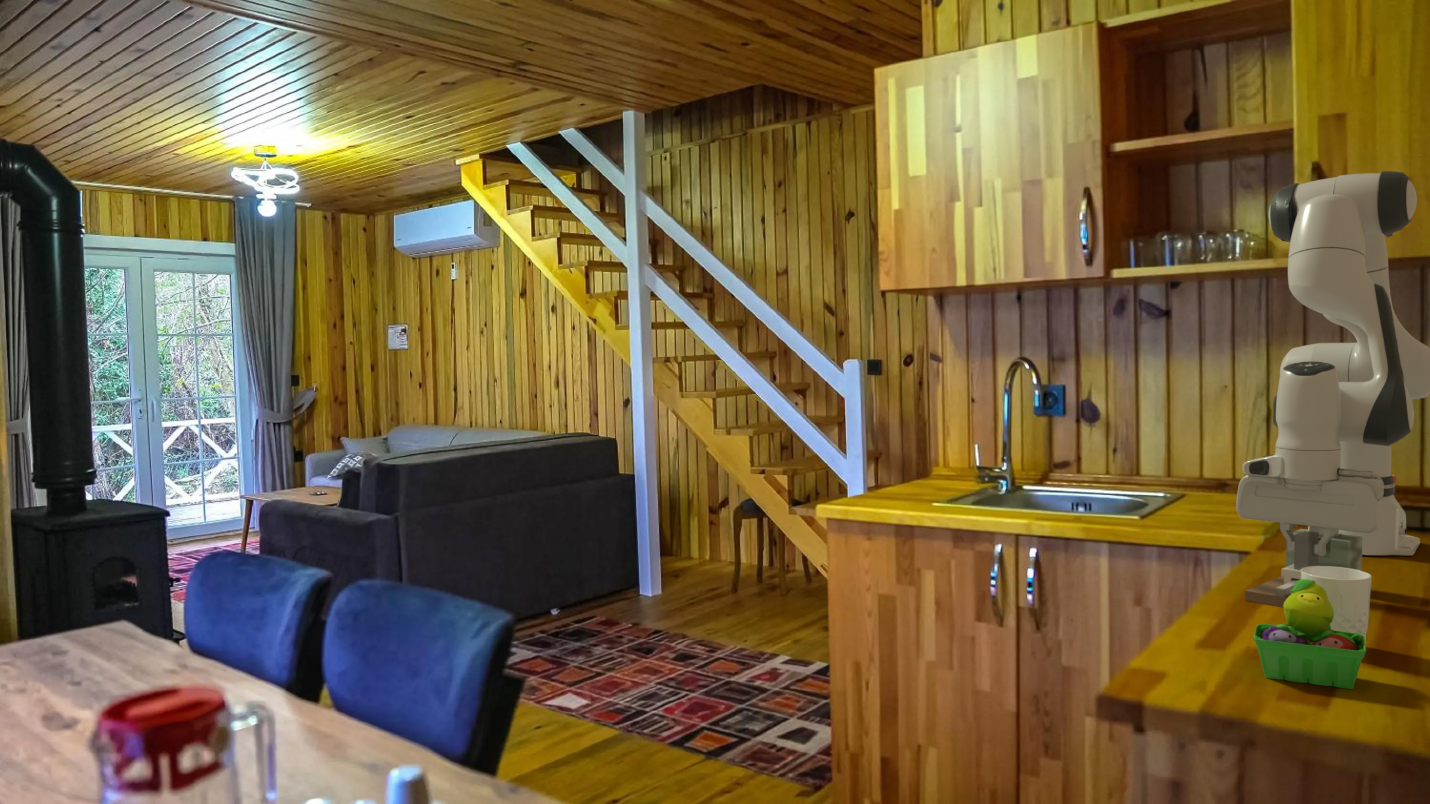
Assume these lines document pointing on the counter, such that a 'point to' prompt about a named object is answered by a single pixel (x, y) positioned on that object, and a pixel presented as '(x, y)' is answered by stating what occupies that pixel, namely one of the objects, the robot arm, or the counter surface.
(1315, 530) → the button
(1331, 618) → the fruit basket
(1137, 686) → the counter surface
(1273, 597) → the rail bed
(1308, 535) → the carriage
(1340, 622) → the white cup
